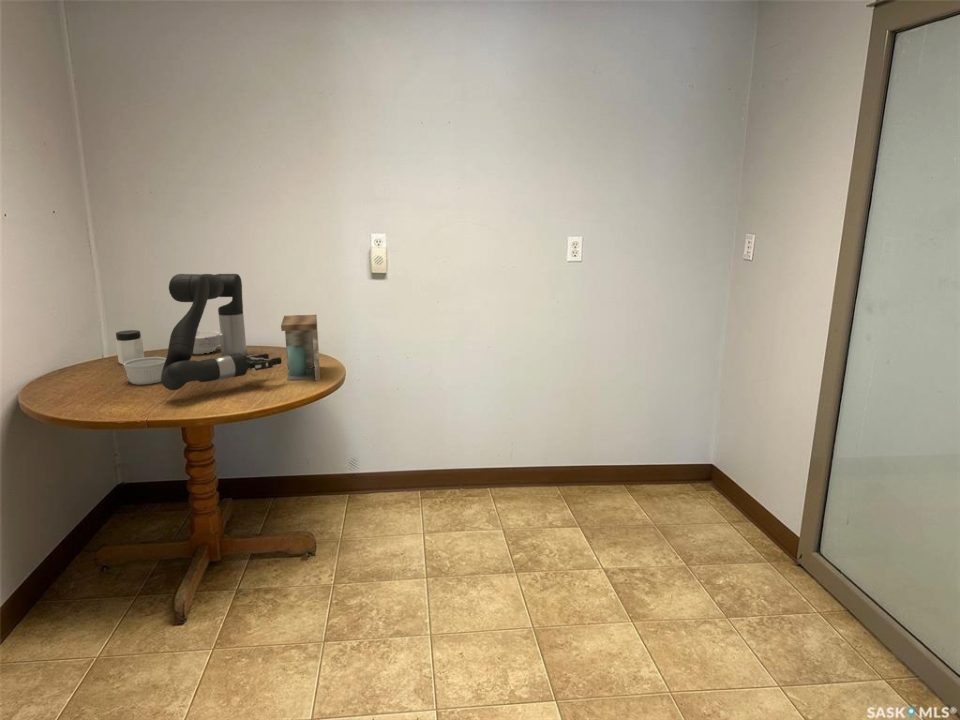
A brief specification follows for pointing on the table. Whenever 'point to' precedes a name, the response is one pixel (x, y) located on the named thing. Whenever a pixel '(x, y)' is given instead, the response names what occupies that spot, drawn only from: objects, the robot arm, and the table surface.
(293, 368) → the teal cylinder
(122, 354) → the jar
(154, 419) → the table surface
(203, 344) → the paper bowls
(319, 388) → the table surface
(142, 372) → the ramekin
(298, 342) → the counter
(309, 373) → the mat
